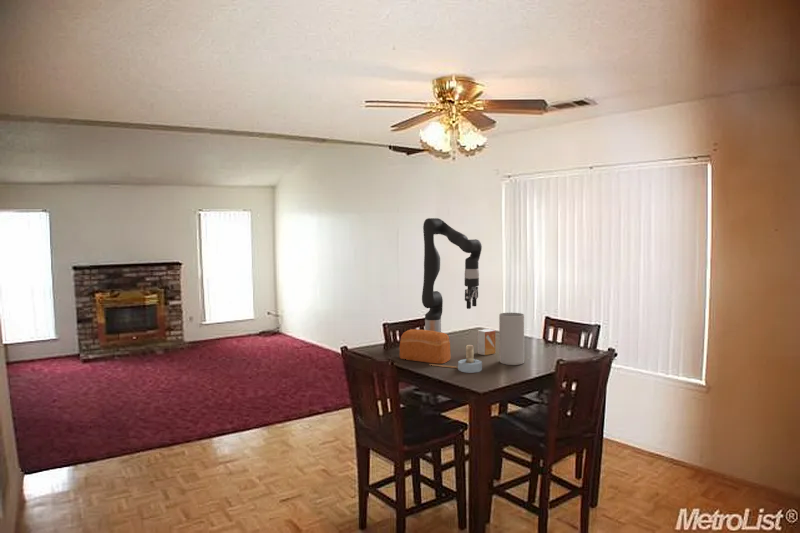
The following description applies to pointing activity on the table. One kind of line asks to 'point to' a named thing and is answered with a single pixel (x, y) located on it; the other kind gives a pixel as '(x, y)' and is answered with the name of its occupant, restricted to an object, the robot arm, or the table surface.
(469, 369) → the bead
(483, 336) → the small box
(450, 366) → the wooden stick
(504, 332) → the cylinder vase
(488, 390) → the table surface
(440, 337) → the bread
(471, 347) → the dowel
